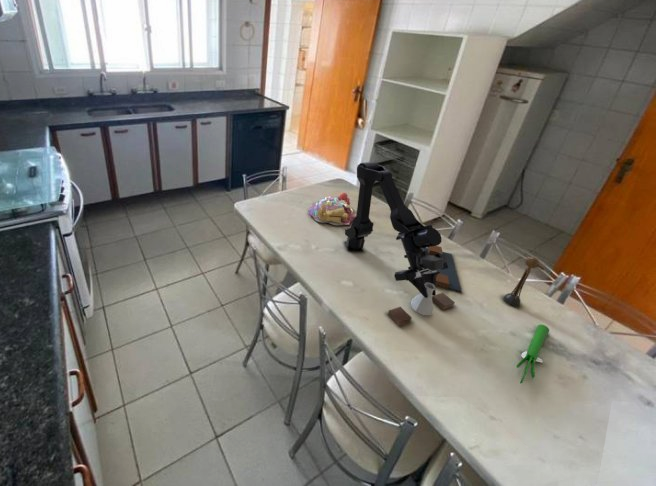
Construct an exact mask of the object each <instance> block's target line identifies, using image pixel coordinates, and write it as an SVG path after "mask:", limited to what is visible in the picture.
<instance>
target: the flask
mask: <svg viewBox="0 0 656 486" xmlns="http://www.w3.org/2000/svg"><path fill="white" fill-rule="evenodd" d="M424 284H425V288H426V291H427V294H428V298H425V297H424V296H423V295H422V294H421V293H420V292H419V293H418V294H417V295H416V296H415V297H413V298H412V299H411V302H410V306H411V307H412V310H414V313H418V314H420V315H423V316H432V315H433V313H434V304H433V303H434V302H433V301H432V297H433V295H432V293H433V290H435V286H434V285H433V284H431V283H424Z"/></svg>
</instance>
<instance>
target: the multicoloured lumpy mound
mask: <svg viewBox="0 0 656 486" xmlns="http://www.w3.org/2000/svg"><path fill="white" fill-rule="evenodd" d="M340 201H344V202H345V203H342V202H340ZM310 205H311V206H309V208H308V210H309V211H308V215H309V216H310V217H311V218H312V217H313V219H314V220H315V221H316V222H318V223H321V224H322V223H325V224H326V223H328V224H331V225H333V226H344V225H346V226H349V225H350V224H352V221H353V220H354V218H355V217H356V215H355V214H354V210H353V209H352V207H351V201H350V198H349V197H348V193H346V192H345V191H344V192H341V193H340V194H339V195H337V196H336V197H334V196H331V195H329V196H325V197H324V198H320V200H317V202H316V203H315V202H312V203H311V204H310Z"/></svg>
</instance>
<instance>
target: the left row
mask: <svg viewBox="0 0 656 486" xmlns="http://www.w3.org/2000/svg"><path fill="white" fill-rule="evenodd" d="M432 303H434V304H435V305H436V306H437V307H439V308H440V309H441V310H443V311H444V310H447V309H450V308H452V307H454V305H455V301H454V300H453V299H451V298H450V297H449V296H448V295H447V294H445V293H444V292H440V293H436V295H432ZM387 316H388V317H389V318H390V319H391V320H392V321H393V322H394V323H395V324H396V325H397V326H398V327H400V326H403V325H406V324H409V323H411V321H412V318H413V317H412V316H411V315H410V314H409V313H408V312H407V311H406V310H405V309H404V308H403V307H402V306H398V307H395V308H392V309H389V310H388V313H387Z"/></svg>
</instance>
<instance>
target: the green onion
mask: <svg viewBox="0 0 656 486" xmlns="http://www.w3.org/2000/svg"><path fill="white" fill-rule="evenodd" d="M549 332H550V328H549V327H548V326H547V325H545V324H542V323H540V324H538V325H537V327H536V330H535V333H534V335H533V337H532V339H531V341H530V344H529V346H528V348H527V350H525V351H524V352H522V353H521V355H520V356H521V358H522V359H521V360H520V361H519V362H518V363H517V364H516V368H517V369H519V368H520V367H521V366H522V365H523V364H524V363H525V362H526V361H527V363H526V364H525V368H524V370H523V373H522V376H521V378H520V381H519V384H523V382H524V380H525V377H526V375H527V372H528V369H529V367H530V375H531V379H535V377H536V374H535V363H536V362H537V363H544V361H543V359H541V358H540V357H539V355H540V352H541V349H542V347H543V345H544V343H545V339H546V338H547V336H548V334H549Z"/></svg>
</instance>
